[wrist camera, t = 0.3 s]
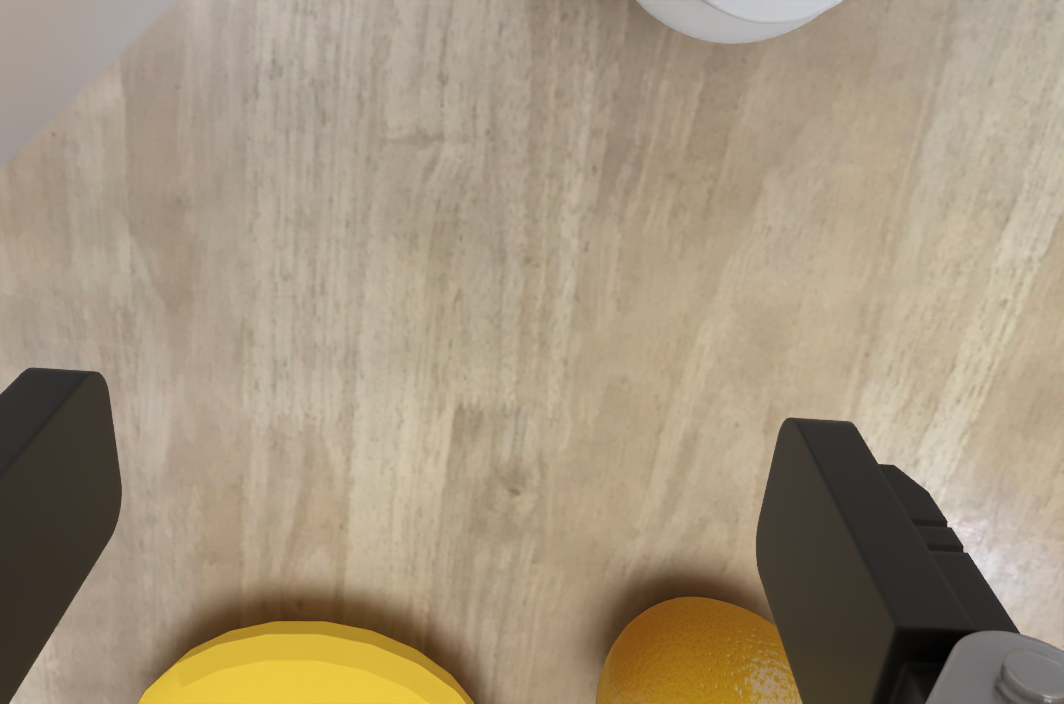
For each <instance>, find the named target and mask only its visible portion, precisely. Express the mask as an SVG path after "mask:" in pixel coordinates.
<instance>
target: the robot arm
mask: <svg viewBox="0 0 1064 704" xmlns="http://www.w3.org/2000/svg"><path fill="white" fill-rule="evenodd" d="M121 497H122V485H121V476H120V469H119V462H118V455H117V448H116V440H115V433H114V426H113V419H112V412H111V404H110V397H109V391H108V387H107V383H106V381H105V379H104V377H103V376H102V375H101V374H100V373H99V372H94V371H79V370H63V369H48V368H29V369H26V370H25V371H24V372H23V373H21V374H20V375H19V377H18V378H17V379H16V380H15V381H14V382H13V383H12V384H11V385H10V386H9V387H8V388H7V389H6V390H5V391H4V392H3V393H2V394H1V395H0V704H9V703H10V701H11V699H12V698H13V696H14V695H15V693H16V691H17V690H18V688H19V686H20V685H21V683H22V682H23V680H24V678H25V677H26V675H27V673H28V672H29V670H30V669H31V667H32V665H33V664H34V662H35V660H36V659H37V657H38V656H39V654H40V652H41V651H42V649H43V647H44V646H45V644H46V642H47V641H48V639H49V638H50V636H51V634H52V633H53V631H54V629H55V628H56V626H57V625H58V623H59V621H60V620H61V618H62V616H63V615H64V613H65V612H66V610H67V608H68V607H69V605H70V603H71V602H72V600H73V599H74V597H75V595H76V594H77V592H78V590H79V589H80V587H81V586H82V584H83V582H84V581H85V579H86V577H87V576H88V574H89V573H90V571H91V569H92V568H93V566H94V564H95V563H96V561H97V559H98V558H99V556H100V555H101V553H102V551H103V550H104V548H105V546H106V545H107V543H108V542H109V540H110V538H111V536H112V535H113V532H114V530H115V527H116V524H117V521H118V517H119V513H120V507H121ZM963 547H964V546H963V545H962V543H961V542H960V540H959V539H958V537H957V536H956V534H955V532H954V531H953V529H952V528H950V527H947V520H946V519H945V517H944V516H943V514H942V512H941V511H940V509H939V508H938V506H937V505H936V503H935V502H934V500H933V499H932V497H931V496H930V494H929V492H928V491H926V490H925V489H924V488H923V487H921V486H920V485H919V484H917V483H916V482H915V481H914V480H912V479H911V478H910V477H909V476H907V475H906V474H905V473H904V472H902V471H901V470H900V469H898V468H897V467H896V466H895V465H884V464H878V463H877V461H876V460H875V458H874V456H873V455H872V453H871V451H870V450H869V448H868V446H867V445H866V443H865V441H864V440H863V438H862V436H861V435H860V433H859V431H858V430H857V428H856V427H855V425H854V424H853V423H852V422H849V421H835V420H820V419H804V418H787V419H786V420H785V421H784V422H783V424H782V426H781V428H780V431H779V434H778V438H777V442H776V447H775V451H774V455H773V460H772V464H771V468H770V473H769V477H768V482H767V486H766V490H765V495H764V499H763V503H762V508H761V512H760V516H759V521H758V527H757V536H756V557H757V566H758V571H759V575H760V578H761V581H762V584H763V587H764V590H765V593H766V596H767V599H768V602H769V605H770V608H771V611H772V614H773V617H774V620H775V623H776V626H777V629H778V632H779V635H780V638H781V641H782V644H783V647H784V650H785V653H786V656H787V659H788V662H789V665H790V668H791V671H792V674H793V677H794V680H795V683H796V686H797V689H798V692H799V695H800V698H801V701H802V704H1064V651H1062V650H1060V649H1058V648H1056V647H1054V646H1052V645H1050V644H1048V643H1046V642H1043V641H1041V640H1038V639H1036V638H1032V637H1029V636H1026V635H1022V634H1020V632H1019V631H1018V629H1017V628H1016V626H1015V625H1014V623H1013V622H1012V620H1011V619H1010V617H1009V615H1008V614H1007V612H1006V611H1005V609H1004V608H1003V606H1002V605H1001V603H1000V602H999V600H998V599H997V597H996V595H995V594H994V592H993V591H992V589H991V588H990V586H989V585H988V583H987V582H986V580H985V579H984V577H983V575H982V574H981V572H980V571H979V569H978V568H977V566H976V565H975V563H974V562H973V560H972V559H971V557H970V555H969V554H968V553H964V552H963Z"/></svg>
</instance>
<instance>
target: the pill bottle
mask: <svg viewBox="0 0 1064 704" xmlns="http://www.w3.org/2000/svg"><path fill="white" fill-rule="evenodd" d="M635 1H636V2H637V3H638V4H639V5H640V6H641V7H642V8H643V9H644V10H645V11H647V12H648V13H649V14H650V15H652V16H653V17H654V18H655V19H657V20H658V21H660V22H661V23H662V24H664V25H665V26H667V27H669V28H671V29H673V30H675V31H677V32H680V33H682V34H684V35H686V36H689V37H692V38H696V39H699V40H703V41H708V42H715V43H724V44H743V43H752V42H757V41H763V40H767V39H770V38H774V37H777V36H780V35H783V34H785V33H788V32H790V31H792V30H795V29H797V28H799V27H801V26H802V25H804V24H806V23H808V22H809V21H811V20H813V19H814V18H816V17H817V16H818V15H820V14H821V13H823V12H824V11H826V10H828V9H830V8H832V7H834V6H835V5H837V4H839V3H840V2H842V1H843V0H635Z"/></svg>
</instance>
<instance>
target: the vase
mask: <svg viewBox="0 0 1064 704" xmlns="http://www.w3.org/2000/svg"><path fill="white" fill-rule="evenodd" d="M138 704H475V703H474V702H473V701H472V699H471V698H470V697H469V696H468V695H467V693H466V692H465V691H464V690H463V688H462V687H461V686H460V685H459V684H458V682H457V681H456V680H455V679H454V677H453V676H452V675H451V674H450V673H448V672H447V671H446V670H444V669H443V668H441V667H440V666H439V665H437V664H436V663H434V662H433V661H432V660H430V659H429V658H428V657H426V656H425V655H423V654H422V653H421V652H419V651H418V650H416V649H414V648H412V647H410V646H407V645H405V644H402V643H400V642H398V641H395V640H393V639H391V638H388V637H386V636H384V635H381V634H379V633H377V632H374V631H371V630H366V629H361V628H356V627H351V626H346V625H341V624H336V623H331V622H326V621H274V622H270V623H265V624H260V625H256V626H251V627H246V628H241V629H237V630H232V631H229V632H226V633H224V634H222V635H220V636H218V637H216V638H214V639H212V640H210V641H208V642H205V643H203V644H201V645H199V646H197V647H195V648H193V649H191V650H190V651H189V652H188V653H186V654H185V655H184V656H183V657H182V658H181V659H180V660H178V661H177V662H176V663H175V664H174V665H173V666H172V667H171V668H169V669H168V670H167V671H166V672H165V673H164V674H163V675H162V676H161V677H159V678H158V679H157V680H156V681H155V682H154V683H153V684H152V685H151V686H150V687H149V688H148V689H147V690H146V691H145V692H144V694H143V696H142V698H141V700H140V701H139V703H138Z"/></svg>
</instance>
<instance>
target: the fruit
mask: <svg viewBox="0 0 1064 704" xmlns="http://www.w3.org/2000/svg"><path fill="white" fill-rule="evenodd" d="M596 704H802V701H801V698H800V695H799V692H798V689H797V686H796V683H795V680H794V677H793V674H792V671H791V668H790V665H789V662H788V659H787V656H786V653H785V650H784V647H783V644H782V641H781V638H780V635H779V632H778V629H777V627H776V626H774V625H773V624H772V623H770V622H769V621H767V620H766V619H764V618H762V617H761V616H759V615H757V614H755V613H753V612H751V611H749V610H747V609H744V608H742V607H739V606H737V605H734V604H731V603H727V602H724V601H720V600H716V599H711V598H705V597H679V598H674V599H670V600H666V601H664V602H661V603H659V604H656V605H655V606H653V607H651V608H649V609H647V610H646V611H644V612H642V613H641V614H640V615H638V616H637V617H636V618H635V619H633V620H632V621H631V622H630V623H629V624H628V625H627V626H626V627H625V628H624V630H623V631H622V632H621V634H620V635H619V636H618V638H617V639H616V641H615V642H614V644H613V646H612V648H611V650H610V652H609V654H608V656H607V658H606V660H605V663H604V666H603V669H602V672H601V675H600V679H599V683H598V688H597V695H596Z"/></svg>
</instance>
